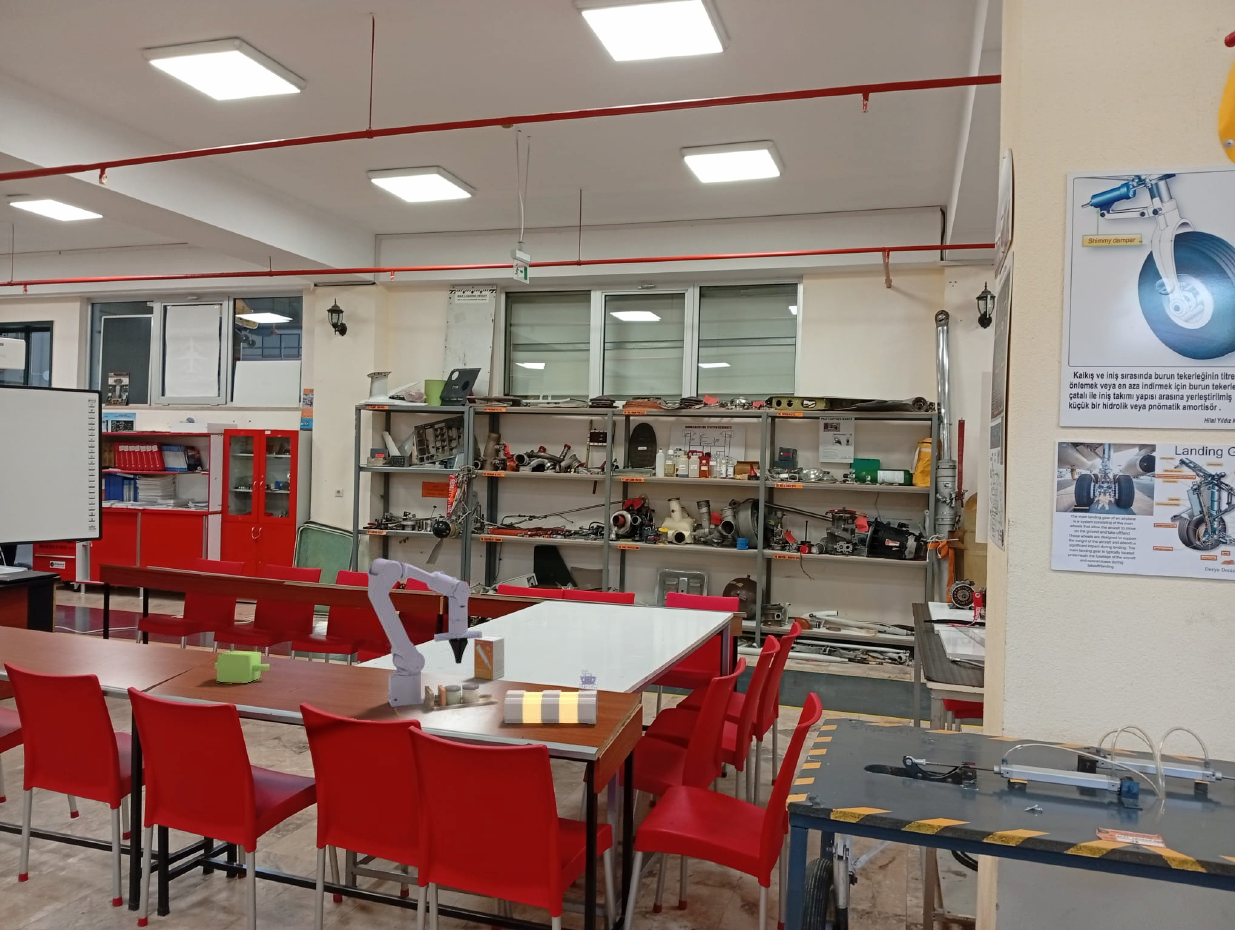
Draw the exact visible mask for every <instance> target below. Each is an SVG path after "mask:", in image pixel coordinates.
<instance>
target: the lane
mask: <svg viewBox="0 0 1235 930" xmlns="http://www.w3.org/2000/svg"><path fill="white" fill-rule="evenodd" d="M424 704H425V706H426V708H427V709H428V710H429V711H430V712H431V713H432V712H439V711H448V710H458V709H459V710H460V709H467V708H476V707H485V706H495V705H500V701H499V700H498V699H495V698H494V697H493V694H492V693H485V694H484V693H483V694H479V702H476V703H467V704H463V703H462V696H461V704H458V705H449V706H441V705H440V704H439V703H438V699H435V693H434V692H433V690H432V689H431V687H430V686H429V685H426V686H424Z"/></svg>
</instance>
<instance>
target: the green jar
mask: <svg viewBox="0 0 1235 930" xmlns="http://www.w3.org/2000/svg"><path fill="white" fill-rule="evenodd" d="M461 686H462V685H461ZM461 686H460V685H458V684H457V685H455V684H454V685H453V684H452V685H446V686H443V688H444V689H445V690H446V706H449V705H458V704H461V697H462V687H461Z"/></svg>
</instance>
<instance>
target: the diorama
mask: <svg viewBox="0 0 1235 930" xmlns="http://www.w3.org/2000/svg"><path fill="white" fill-rule="evenodd" d="M581 671H582V672H581V673H582V674H584V675H580V676H579V678H580V680H581V683H579V685H578V686H579V689H578V691H573V692H572V691H562V689H559V690H558V689H556V690H555V689H553V690H551V689H550V690H549V689H548V690H546V689H544V690H542V691H539V692H537V691H536V692H535V691H530V692H529V691H527V690H525V689H524V690H522V689H521V690H520V689H519V690H514V689H513V690H507V691H506V694H505V697H504V703H503V704H504V708H503V709H504V711H503V712H504V715H503V716H504V724H505V723H588V724H590V725H591V724H592V725H593V724H595V725H596V724H597V715H598V684H597V683H595V682H596V680H597V676H596V675H594V676H593V675H592V673H591V672H590V673H588V669H587V670H585V669H583V670H581Z"/></svg>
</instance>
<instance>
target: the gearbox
mask: <svg viewBox="0 0 1235 930" xmlns="http://www.w3.org/2000/svg"><path fill="white" fill-rule="evenodd" d="M261 661H262V652H261V651H248V650H246V651H245V650H244V651H243V650H231V651H226V652H222V653H219V654H217V662H215V663H214V669H215V670H216V682H217V681H220V682H242V683H248V682H251V681H253V680H256V679H258V680H260V679H259V678H261V672H265V671H270V663H261ZM256 681H257V680H256ZM253 682H254V681H253ZM251 683H252V682H251ZM248 684H249V683H248Z"/></svg>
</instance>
